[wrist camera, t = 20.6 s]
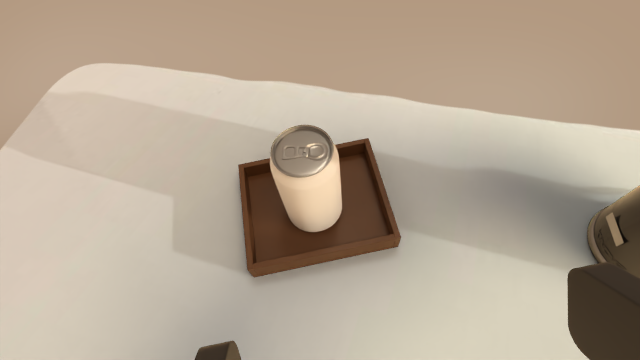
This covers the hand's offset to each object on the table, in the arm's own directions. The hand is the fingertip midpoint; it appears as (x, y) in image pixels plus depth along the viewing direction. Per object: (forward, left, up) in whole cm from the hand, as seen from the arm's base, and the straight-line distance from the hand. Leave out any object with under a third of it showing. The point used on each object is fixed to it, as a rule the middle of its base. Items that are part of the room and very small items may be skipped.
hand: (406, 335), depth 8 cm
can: (+2, -17, -28) cm, 33 cm away
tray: (+2, -18, -29) cm, 34 cm away
